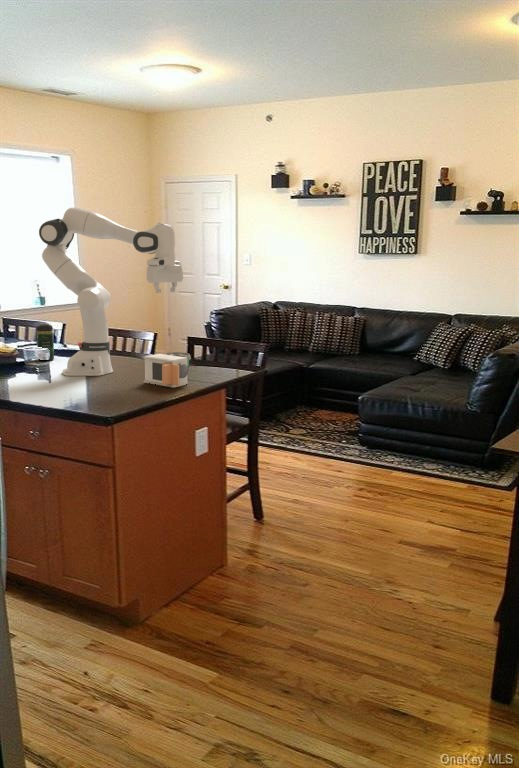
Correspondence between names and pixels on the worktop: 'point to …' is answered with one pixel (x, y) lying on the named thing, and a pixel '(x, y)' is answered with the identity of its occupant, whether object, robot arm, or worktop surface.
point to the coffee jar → (45, 338)
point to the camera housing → (155, 368)
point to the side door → (170, 374)
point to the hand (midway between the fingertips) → (165, 292)
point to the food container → (181, 356)
